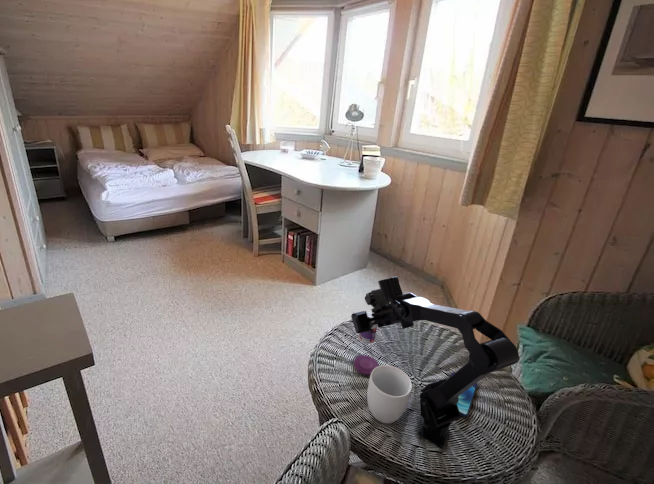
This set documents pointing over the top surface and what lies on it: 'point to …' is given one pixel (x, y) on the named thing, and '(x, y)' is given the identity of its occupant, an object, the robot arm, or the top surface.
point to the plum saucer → (365, 364)
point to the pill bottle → (368, 333)
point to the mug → (388, 393)
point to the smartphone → (466, 400)
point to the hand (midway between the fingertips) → (367, 321)
